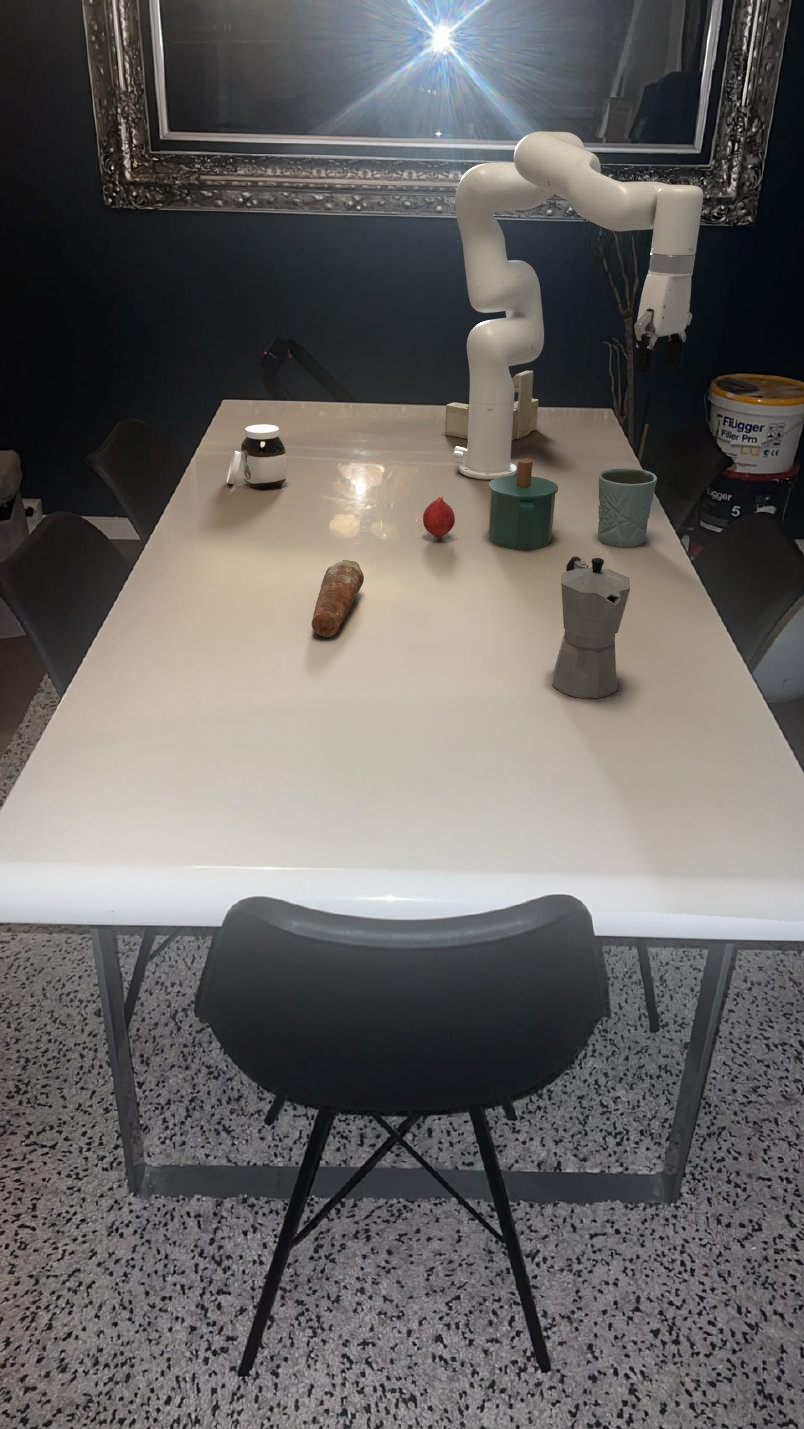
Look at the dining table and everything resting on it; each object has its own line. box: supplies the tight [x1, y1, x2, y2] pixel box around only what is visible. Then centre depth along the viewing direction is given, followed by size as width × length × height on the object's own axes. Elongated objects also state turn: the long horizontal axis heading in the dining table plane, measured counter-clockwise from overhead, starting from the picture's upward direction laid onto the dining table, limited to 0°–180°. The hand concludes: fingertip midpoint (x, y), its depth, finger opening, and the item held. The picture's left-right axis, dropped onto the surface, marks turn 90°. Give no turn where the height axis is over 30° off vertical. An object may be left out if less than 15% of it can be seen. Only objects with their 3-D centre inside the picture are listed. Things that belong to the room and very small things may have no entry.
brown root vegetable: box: [311, 559, 365, 638], centre depth 158 cm, size 6×19×6 cm, turn 171°
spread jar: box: [226, 424, 288, 490], centre depth 215 cm, size 12×11×12 cm
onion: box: [422, 495, 456, 539], centre depth 188 cm, size 6×6×8 cm
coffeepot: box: [551, 556, 631, 699], centre depth 137 cm, size 15×9×18 cm, turn 13°
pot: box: [487, 490, 556, 551], centre depth 188 cm, size 11×17×10 cm
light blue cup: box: [597, 467, 658, 548], centre depth 188 cm, size 10×10×12 cm
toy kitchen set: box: [444, 370, 540, 441], centre depth 254 cm, size 18×17×15 cm
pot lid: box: [488, 458, 559, 499], centre depth 185 cm, size 12×12×6 cm
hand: (658, 368), depth 187 cm, fingers open, 9 cm apart
